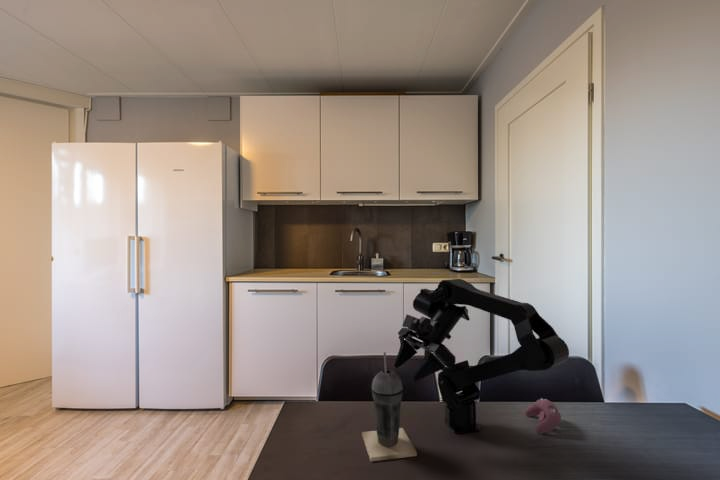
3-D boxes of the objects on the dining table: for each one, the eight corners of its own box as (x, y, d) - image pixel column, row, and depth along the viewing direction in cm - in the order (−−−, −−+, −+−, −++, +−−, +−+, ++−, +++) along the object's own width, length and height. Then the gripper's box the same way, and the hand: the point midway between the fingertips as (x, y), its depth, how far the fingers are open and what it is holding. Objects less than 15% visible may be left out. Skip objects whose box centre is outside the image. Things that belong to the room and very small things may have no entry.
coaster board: (402, 431, 81) (402, 427, 81) (416, 455, 71) (416, 452, 71) (361, 435, 79) (361, 432, 79) (370, 461, 70) (370, 457, 70)
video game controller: (554, 443, 78) (568, 416, 78) (535, 432, 79) (548, 406, 79) (539, 421, 88) (552, 398, 88) (522, 412, 89) (534, 389, 89)
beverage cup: (408, 436, 77) (406, 348, 78) (397, 453, 71) (396, 357, 71) (378, 429, 81) (377, 345, 81) (366, 445, 74) (365, 353, 75)
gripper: (403, 298, 93) (367, 342, 89) (444, 309, 76) (401, 365, 71) (428, 324, 96) (394, 368, 92) (473, 341, 78) (433, 396, 74)
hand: (403, 373), depth 82 cm, fingers open, 9 cm apart
